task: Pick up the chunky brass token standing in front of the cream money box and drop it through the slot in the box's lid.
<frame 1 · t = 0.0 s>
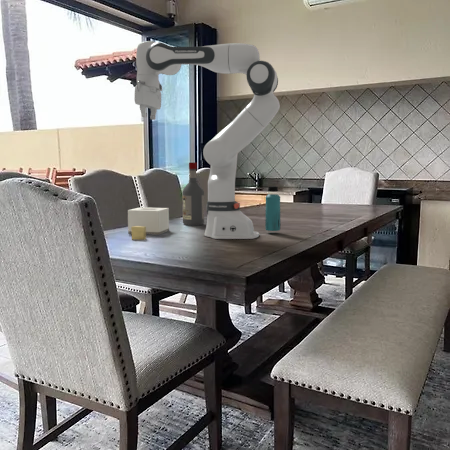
hand: (148, 118, 184), 48 cm above the table, fingers open, 8 cm apart
liquor: (193, 224, 219), on the table
money box: (149, 232, 194), on the table
brass token: (138, 239, 176), on the table
beverage bottle: (272, 233, 190), on the table
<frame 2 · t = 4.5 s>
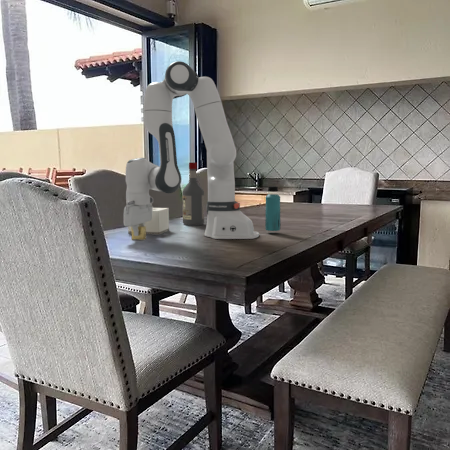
hand: (138, 234, 176), 2 cm above the table, fingers closed on brass token, 2 cm apart
brass token: (138, 239, 176), on the table, touching gripper
everything else where it was.
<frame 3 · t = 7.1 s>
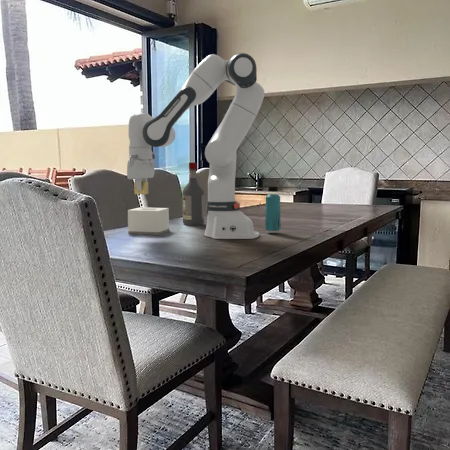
hand: (141, 189, 180), 19 cm above the table, fingers closed on brass token, 2 cm apart
brass token: (141, 193, 180), point 17 cm above the table, touching gripper
everything else where it was.
when the fingers open (13 cm above the table, at t = 9.5 s): brass token drops 10 cm, resting on money box.
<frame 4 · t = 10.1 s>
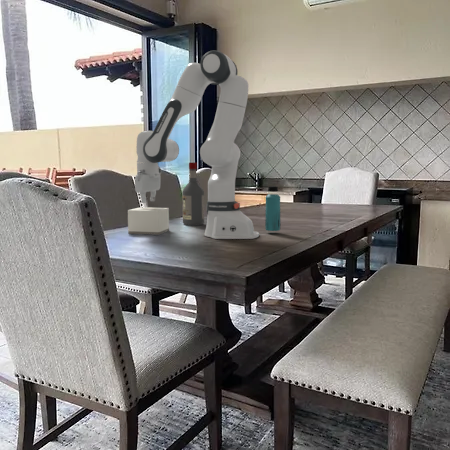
hand: (148, 202, 193), 13 cm above the table, fingers open, 8 cm apart
brass token: (148, 229, 194), point 1 cm above the table, touching money box
everything else where it was.
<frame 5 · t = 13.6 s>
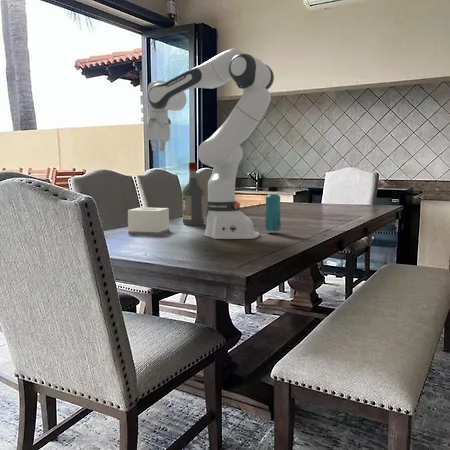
hand: (158, 150, 200), 35 cm above the table, fingers open, 8 cm apart
nothing on the table moved.
at the end: brass token inside the target area on the money box (0.1 cm from its centre), point 1.0 cm above the money box's base; the gripper is holding nothing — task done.
